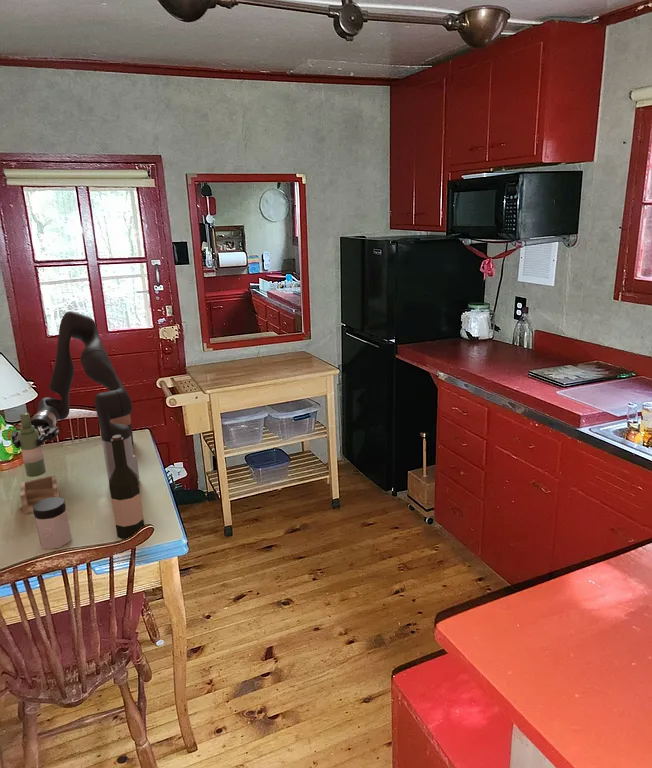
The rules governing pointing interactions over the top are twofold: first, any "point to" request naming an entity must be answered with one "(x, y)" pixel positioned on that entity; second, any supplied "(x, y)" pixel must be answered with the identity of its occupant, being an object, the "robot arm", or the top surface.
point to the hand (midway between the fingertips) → (27, 444)
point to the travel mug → (124, 422)
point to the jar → (52, 523)
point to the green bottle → (31, 448)
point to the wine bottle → (124, 493)
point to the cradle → (37, 492)
